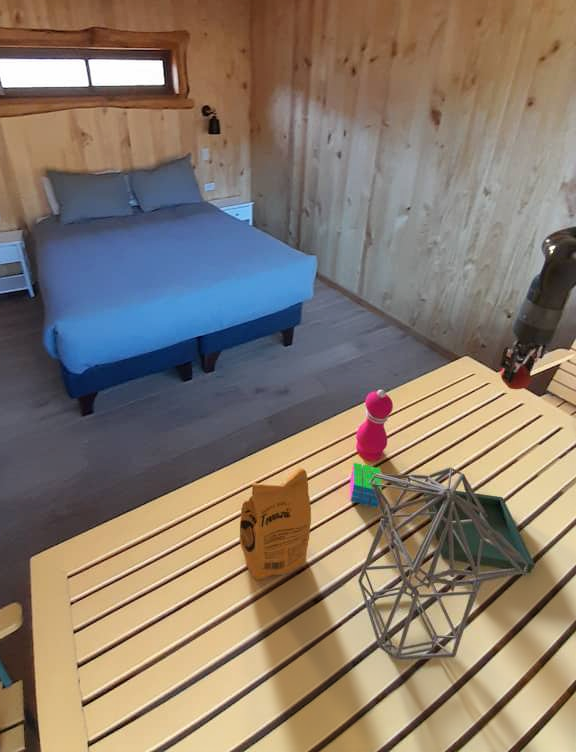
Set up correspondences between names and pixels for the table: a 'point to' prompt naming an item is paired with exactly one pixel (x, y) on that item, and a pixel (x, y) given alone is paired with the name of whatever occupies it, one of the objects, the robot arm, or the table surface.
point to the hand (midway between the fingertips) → (515, 376)
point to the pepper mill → (374, 426)
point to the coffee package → (276, 526)
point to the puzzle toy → (364, 484)
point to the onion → (519, 378)
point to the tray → (498, 521)
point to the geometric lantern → (422, 551)
